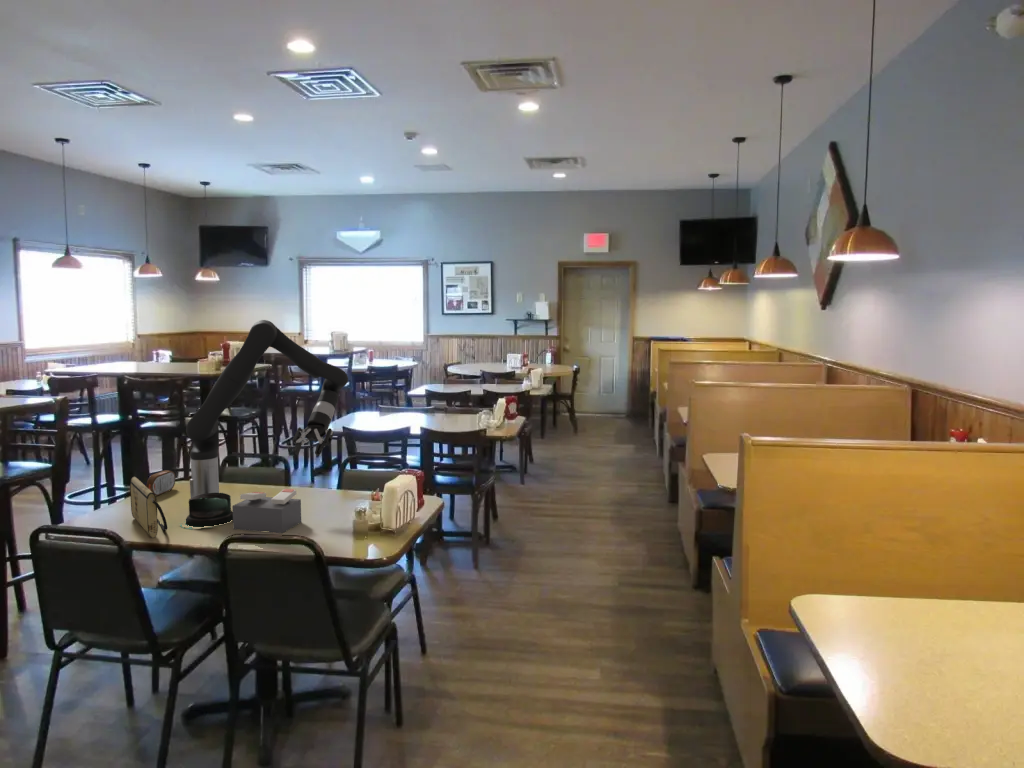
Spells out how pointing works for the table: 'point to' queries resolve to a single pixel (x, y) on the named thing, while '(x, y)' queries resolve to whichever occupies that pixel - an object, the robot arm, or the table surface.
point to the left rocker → (253, 496)
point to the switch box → (266, 515)
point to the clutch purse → (145, 507)
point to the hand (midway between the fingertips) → (306, 454)
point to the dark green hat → (209, 510)
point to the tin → (161, 482)
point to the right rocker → (283, 496)
